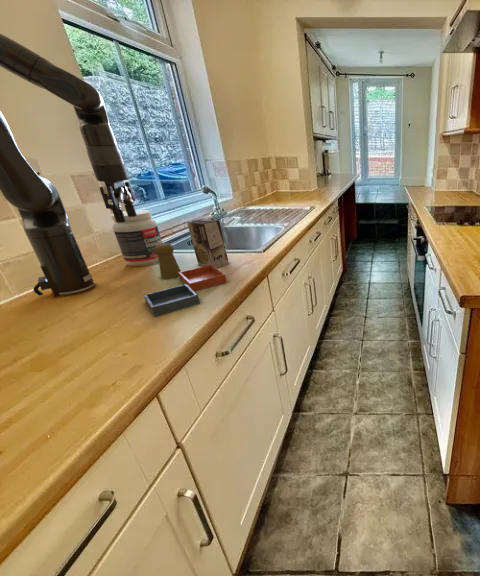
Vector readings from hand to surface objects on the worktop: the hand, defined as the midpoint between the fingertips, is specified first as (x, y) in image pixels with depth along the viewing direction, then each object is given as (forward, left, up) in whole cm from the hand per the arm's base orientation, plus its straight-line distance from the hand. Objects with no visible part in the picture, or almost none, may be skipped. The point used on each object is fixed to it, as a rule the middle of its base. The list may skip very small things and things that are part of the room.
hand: (127, 219), depth 98 cm
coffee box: (+20, -3, -20) cm, 28 cm away
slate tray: (+1, -28, -19) cm, 34 cm away
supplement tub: (+3, +18, -20) cm, 27 cm away
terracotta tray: (+12, -17, -19) cm, 29 cm away
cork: (+6, -5, -20) cm, 21 cm away
